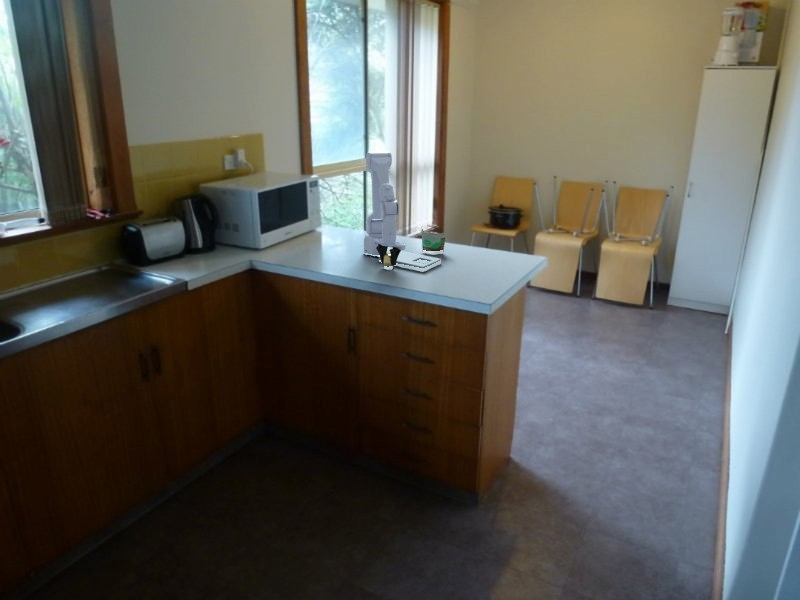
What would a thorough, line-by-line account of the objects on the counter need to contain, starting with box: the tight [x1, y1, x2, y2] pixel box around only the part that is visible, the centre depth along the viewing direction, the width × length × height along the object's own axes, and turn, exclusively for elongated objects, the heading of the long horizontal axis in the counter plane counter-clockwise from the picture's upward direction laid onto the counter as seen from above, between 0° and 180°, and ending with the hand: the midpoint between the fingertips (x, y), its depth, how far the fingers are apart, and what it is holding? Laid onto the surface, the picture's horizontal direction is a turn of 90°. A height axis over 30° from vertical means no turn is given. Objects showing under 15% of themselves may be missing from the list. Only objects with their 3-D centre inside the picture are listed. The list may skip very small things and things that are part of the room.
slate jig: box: [378, 250, 442, 268], centre depth 245 cm, size 22×14×2 cm, turn 56°
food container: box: [419, 228, 448, 251], centre depth 259 cm, size 12×6×10 cm, turn 62°
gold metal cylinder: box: [382, 252, 391, 267], centre depth 238 cm, size 4×4×6 cm
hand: (388, 264), depth 238 cm, fingers open, 4 cm apart
